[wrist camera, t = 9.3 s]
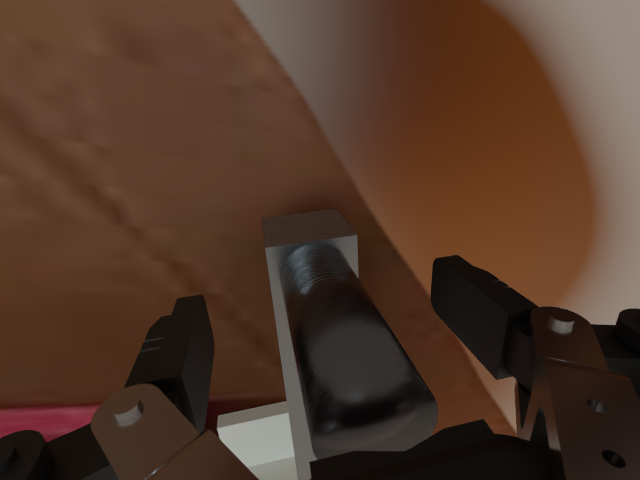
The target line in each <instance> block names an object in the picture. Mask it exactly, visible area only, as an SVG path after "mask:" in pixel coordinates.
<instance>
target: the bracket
mask: <svg viewBox="0 0 640 480" xmlns="http://www.w3.org/2000/svg"><path fill="white" fill-rule="evenodd" d="M217 430H218V434H219V438H220V440H221V441H222V442H223V443H224V444H225V445H226V446H227V447H228V448H229V449H230V450H231V451H232V452H233V453H234V454H235V455H236V456H237V457H238V458H239V460H240V461H241V462H242V463H243V464H244V465H245V466H246V467H247V468H248V469H249V470H250V471H251V472H252V473H253V474H254V475H255V476H256V477H257V478H258V479H259V480H298V476H297V469H296V462H295V455H294V448H293V441H292V434H291V427H290V420H289V413H288V406H287V401H284V402H279V403H274V404H270V405H265V406H260V407H256V408H251V409H246V410H242V411H237V412H232V413H228V414H223V415H218V423H217Z"/></svg>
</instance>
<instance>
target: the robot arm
mask: <svg viewBox="0 0 640 480" xmlns="http://www.w3.org/2000/svg"><path fill="white" fill-rule="evenodd" d="M431 303H432V306H433V309H434V311H435V312H436V314H437V315H438V316H439V317H440V318H441V319H442V320H443V321H444V322H445V324H446V325H447V326H448V327H449V328H450V329H451V330H452V331H453V332H454V333H455V335H456V336H457V337H458V338H459V339H460V340H461V341H462V342H463V343H464V345H465V346H466V347H467V348H468V349H469V350H470V351H471V352H472V353H473V354H474V355H475V357H476V358H477V359H478V360H479V361H480V362H481V363H482V364H483V365H484V367H485V368H486V369H487V370H488V371H489V372H490V373H491V374H492V375H493V376H494V378H495V379H496V380H499V379H503V378H507V377H512V376H513V377H514V378H515V379H516V384H515V406H516V424H517V437H514V436H509V435H502V434H494V433H493V431H492V430H491V429H490V427H489V426H488V425H487V423H486V422H485V421H484V419H481V420H477V421H473V422H469V423H465V424H461V425H457V426H453V427H449V428H445V429H442V430H441V431H439V432H437V433H435V434H434V435H432V436H430V437H429V438H427V439H425V440H424V441H422V442H420V443H419V444H417V445H415V446H414V447H412V448H410V449H408V450H406V451H351V452H347V453H343V454H339V455H335V456H331V457H327V458H323V459H319V460H315V461H311V462H309V464H310V473H311V479H309V480H640V309H626V310H623V311H621V312H620V313H619V316H618V320H617V322H616V325H594V324H590V323H589V321H587V320H586V319H585V318H583V317H582V316H580V315H579V314H577V313H574V312H572V311H569V310H567V309H563V308H559V307H552V306H543V307H538V306H537V305H535V304H534V303H533V302H531V301H530V300H528V299H527V298H525V297H524V296H522V295H521V294H520V293H518V292H517V291H515V290H514V289H512V288H511V287H510V288H509V287H508V285H507V284H505V283H504V282H502V281H499V279H498V278H497V277H495V276H494V275H492V274H491V273H489V272H488V271H485V270H483V269H480V268H477V267H475V266H472V265H471V264H470V263H468V262H467V261H465V260H464V259H463V258H461V257H460V256H458V255H453V256H448V257H441V258H436V259H435V260H434V263H433V271H432V284H431ZM213 358H214V339H213V333H212V329H211V324H210V320H209V316H208V311H207V307H206V303H205V299H204V296H203V295H196V296H189V297H183V298H178V299H177V301H176V304H175V306H174V309H173V312H172V315H169V316H163V317H161V318H160V319H159V320H158V321H157V322H156V323H155V324H154V325H153V326H152V327H151V328H150V329H149V331H148V334H147V336H146V338H145V342H144V343H143V345H142V348H141V350H140V353H139V355H138V357H137V359H136V362H135V364H134V366H133V368H132V371H131V373H130V375H129V378H128V380H127V382H126V385H125V387H124V389H122V390H120V391H119V392H117V393H115V394H114V395H112V396H110V397H109V398H108V399H107V400H105V401H104V402H103V403H102V404H101V405H100V407H99V408H98V409H97V410H96V412H95V413H94V415H93V417H92V420H91V423H89V424H88V425H86V426H84V427H81V428H79V429H77V430H75V431H72V432H70V433H68V434H65V435H63V436H61V437H59V438H56V439H54V440H52V441H49V442H47V443H46V441H45V439H44V438H43V436H42V434H40V433H39V432H37V431H33V430H24V431H19V432H15V433H12V434H9V435H7V436H4V437H2V438H0V480H259V479H258V478H257V477H256V476H255V475H254V474H253V473H252V472H251V471H250V470H249V469H248V468H247V467H246V466H245V465H244V464H243V463H242V462H241V461H240V460H239V458H238V457H237V456H236V455H235V454H234V453H233V452H232V451H231V450H230V449H229V448H228V447H227V446H226V445H225V444H224V443H223V442H222V441H221V440H220V439H219V438H218V437H217V436H216V435H215V434H214V433H213V432H212V431H210V430H209V429H205V430H204V428H205V420H206V412H207V405H208V397H209V389H210V381H211V374H212V366H213Z"/></svg>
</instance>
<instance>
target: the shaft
mask: <svg viewBox="0 0 640 480" xmlns="http://www.w3.org/2000/svg"><path fill="white" fill-rule="evenodd" d="M261 220H262V227H263V235H264V243H265V250H266V257H267V264H268V271H269V278H270V286H271V293H272V300H273V307H274V314H275V321H276V328H277V335H278V342H279V349H280V356H281V363H282V370H283V377H284V384H285V392H286V399H287V406H288V413H289V420H290V427H291V434H292V441H293V448H294V455H295V462H296V469H297V476H298V480H309V479H311V473H310V464H309V462H311V461H315V460H319V459H323V458H327V457H331V456H335V455H339V454H343V453H347V452H351V451H406V450H408V449H410V448H412V447H414V446H415V445H417V444H419V443H420V442H422V441H424V440H425V439H427V438H429V437H430V435H431V434H432V432H433V430H434V428H435V425H436V422H437V417H438V407H437V403H436V400H435V398H434V396H433V394H432V393H431V391H430V390H429V388H428V387H427V385H426V383H425V382H424V380H423V379H422V377H421V376H420V374H419V373H418V371H417V369H416V368H415V366H414V365H413V363H412V362H411V360H410V358H409V357H408V355H407V354H406V352H405V351H404V349H403V348H402V346H401V344H400V343H399V341H398V340H397V338H396V337H395V335H394V333H393V332H392V330H391V329H390V327H389V326H388V324H387V323H386V321H385V319H384V318H383V316H382V315H381V313H380V312H379V310H378V308H377V307H376V305H375V304H374V302H373V301H372V299H371V298H370V296H369V294H368V293H367V291H366V290H365V288H364V287H363V285H362V283H361V282H360V280H359V279H358V239H357V234H356V233H355V232H354V230H353V229H352V228H351V227H350V226H349V224H348V223H347V222H346V221H345V220H344V219H343V217H342V216H341V215H340V214H339V213H338V211H337V210H336V209H330V210H322V211H314V212H306V213H298V214H290V215H282V216H274V217H266V218H261Z"/></svg>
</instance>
